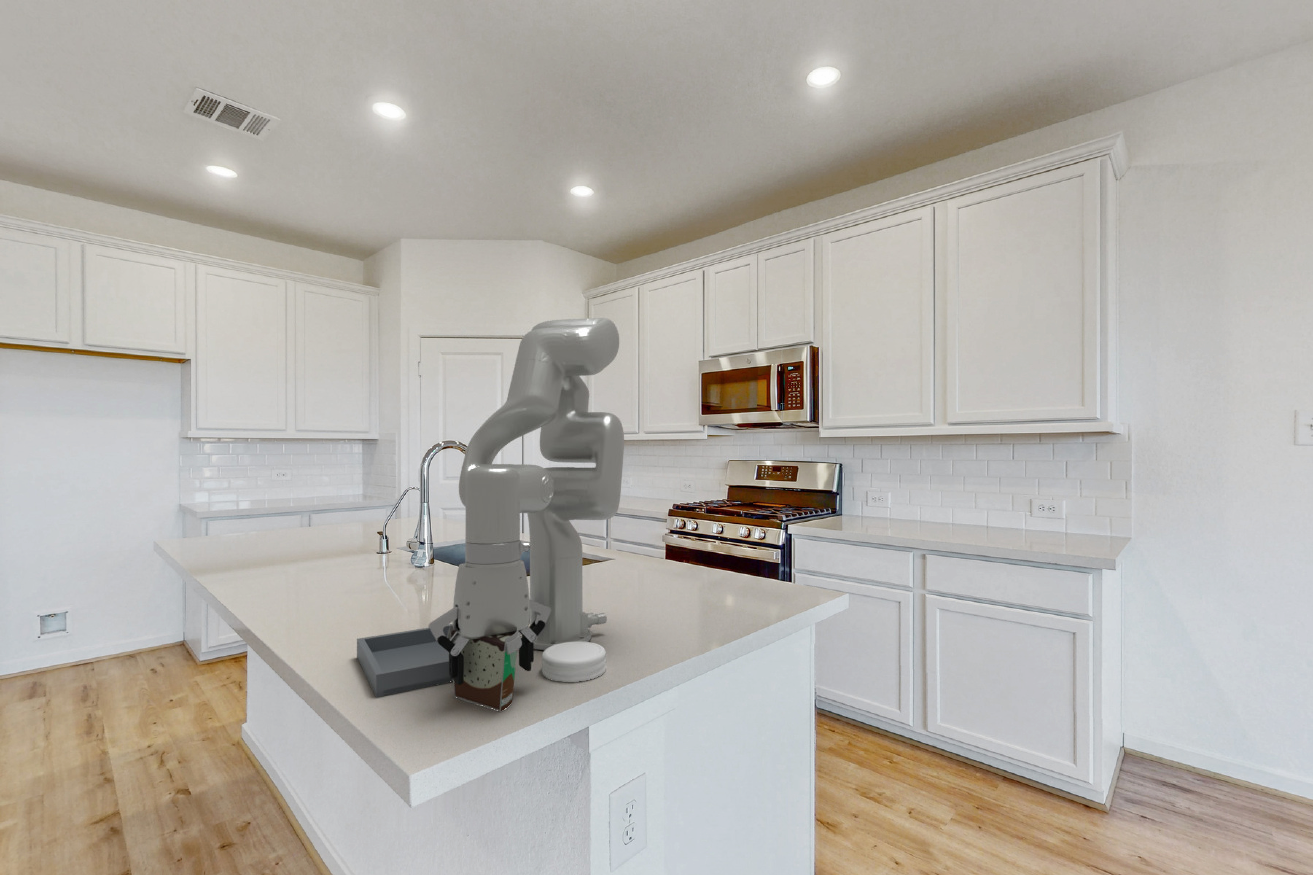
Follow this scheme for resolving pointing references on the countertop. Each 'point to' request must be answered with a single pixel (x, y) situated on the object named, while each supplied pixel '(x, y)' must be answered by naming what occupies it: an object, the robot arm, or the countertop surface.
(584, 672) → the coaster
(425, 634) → the tray
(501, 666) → the food container
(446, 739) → the countertop surface
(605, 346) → the robot arm
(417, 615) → the countertop surface
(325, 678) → the countertop surface
